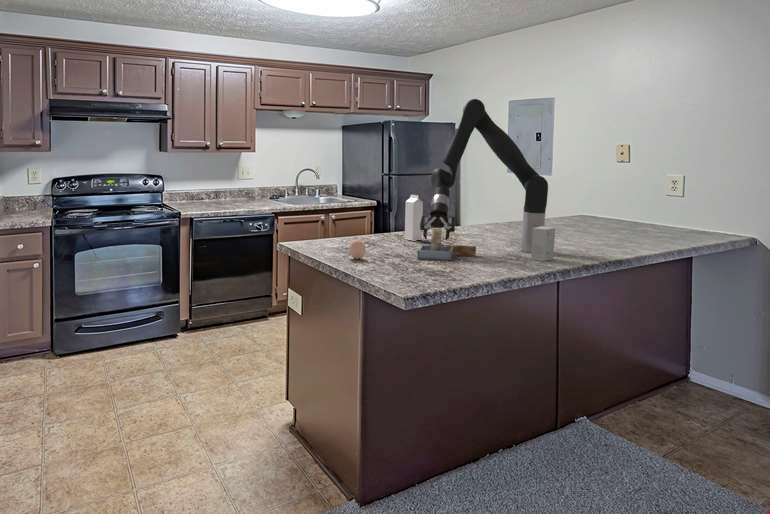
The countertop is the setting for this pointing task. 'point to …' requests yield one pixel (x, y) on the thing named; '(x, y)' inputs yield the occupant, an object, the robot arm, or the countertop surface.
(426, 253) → the tray
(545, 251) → the small box
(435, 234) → the dowel
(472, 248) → the block
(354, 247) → the egg
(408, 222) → the milk
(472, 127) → the robot arm
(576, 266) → the countertop surface
